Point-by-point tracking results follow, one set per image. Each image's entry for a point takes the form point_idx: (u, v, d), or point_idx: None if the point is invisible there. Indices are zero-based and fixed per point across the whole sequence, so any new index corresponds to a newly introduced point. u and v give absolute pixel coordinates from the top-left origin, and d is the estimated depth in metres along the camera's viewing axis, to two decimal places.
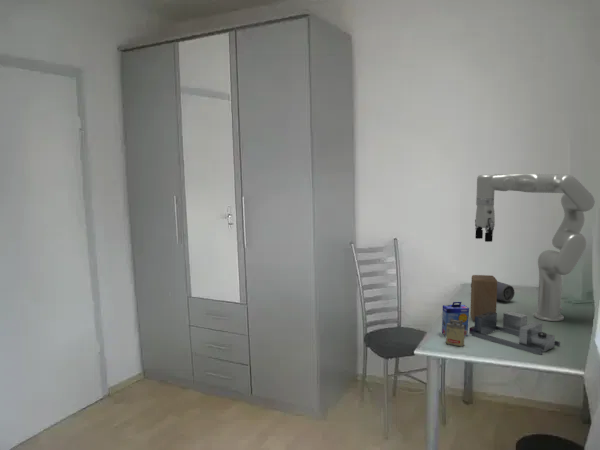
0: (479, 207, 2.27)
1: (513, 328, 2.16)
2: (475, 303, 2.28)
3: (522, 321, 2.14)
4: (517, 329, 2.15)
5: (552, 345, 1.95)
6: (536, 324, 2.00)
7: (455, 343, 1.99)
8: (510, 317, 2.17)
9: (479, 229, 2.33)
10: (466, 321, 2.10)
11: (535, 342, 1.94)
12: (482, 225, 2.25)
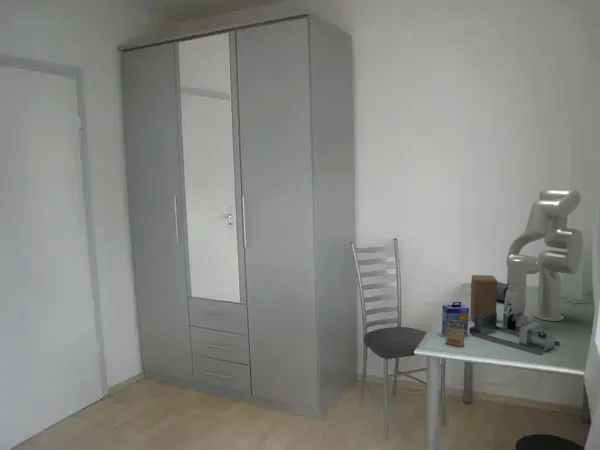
0: (521, 292, 2.14)
1: None
2: (475, 303, 2.28)
3: (522, 321, 2.14)
4: (517, 329, 2.15)
5: (552, 345, 1.95)
6: (536, 324, 2.00)
7: (455, 343, 1.99)
8: None
9: None
10: (466, 321, 2.10)
11: (535, 342, 1.94)
12: (523, 309, 2.17)
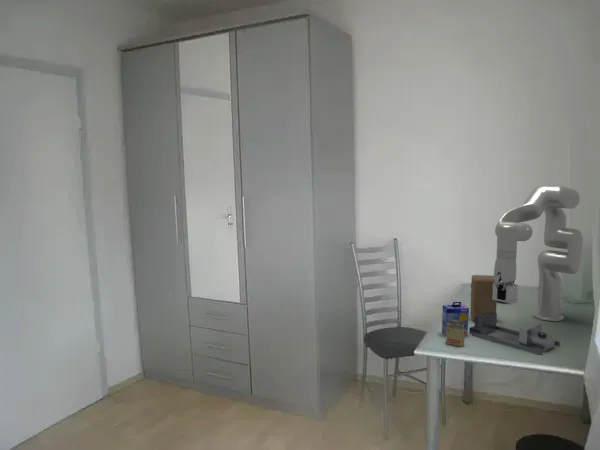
0: (512, 261, 2.03)
1: None
2: (475, 303, 2.28)
3: (513, 290, 2.03)
4: (507, 299, 2.03)
5: (552, 345, 1.95)
6: (536, 324, 2.00)
7: (455, 343, 1.99)
8: None
9: None
10: (466, 321, 2.10)
11: (535, 342, 1.94)
12: (513, 279, 2.06)
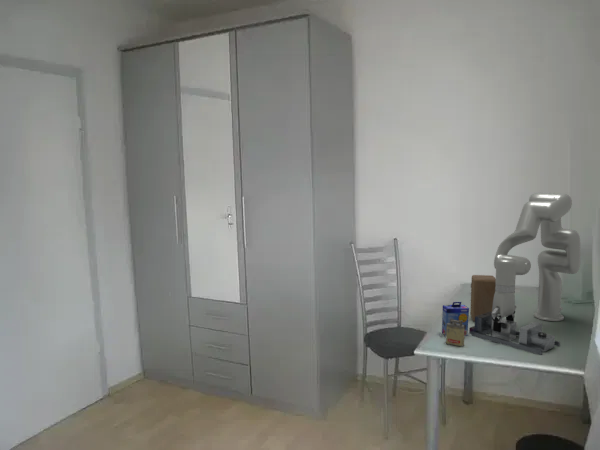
0: (510, 295, 2.05)
1: (502, 335, 2.07)
2: (475, 303, 2.28)
3: (511, 328, 2.05)
4: (505, 337, 2.05)
5: (552, 345, 1.95)
6: (536, 324, 2.00)
7: (455, 343, 1.99)
8: None
9: None
10: (466, 321, 2.10)
11: (535, 342, 1.94)
12: (512, 312, 2.08)
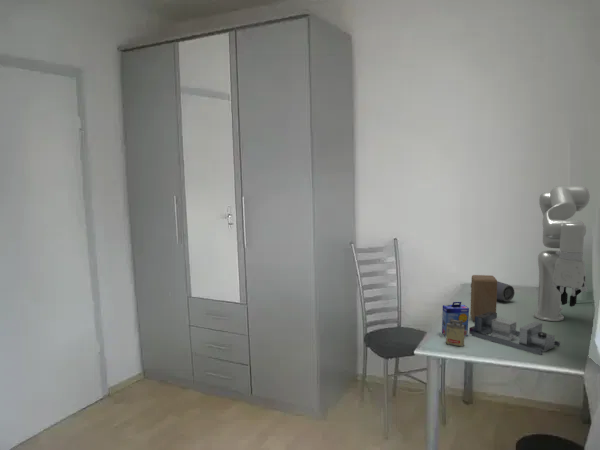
0: None
1: (502, 335, 2.07)
2: (475, 303, 2.28)
3: (511, 328, 2.05)
4: (505, 337, 2.05)
5: (552, 345, 1.95)
6: (536, 324, 2.00)
7: (455, 343, 1.99)
8: (498, 324, 2.07)
9: None
10: (466, 321, 2.10)
11: (535, 342, 1.94)
12: None
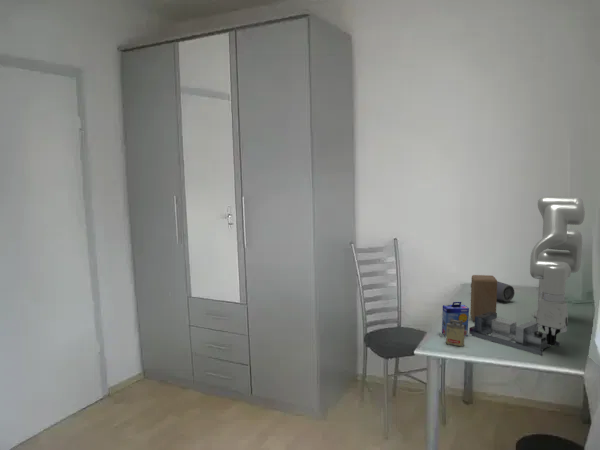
0: None
1: (502, 335, 2.07)
2: (475, 303, 2.28)
3: (511, 328, 2.05)
4: (505, 337, 2.05)
5: None
6: (532, 323, 2.01)
7: (455, 343, 1.99)
8: (498, 324, 2.07)
9: None
10: (466, 321, 2.10)
11: (532, 341, 1.95)
12: None
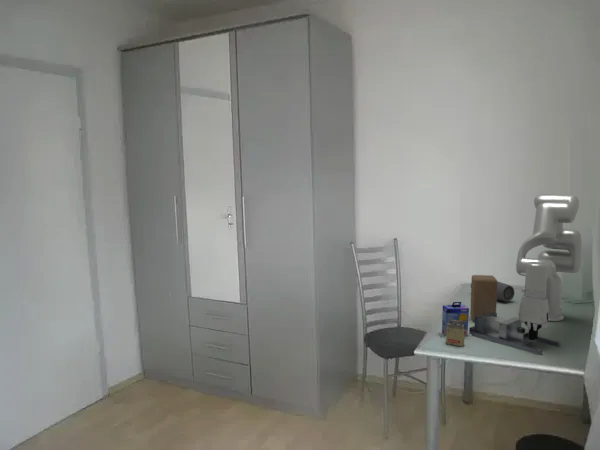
0: None
1: (496, 334, 2.08)
2: (475, 303, 2.28)
3: None
4: None
5: None
6: (515, 319, 2.07)
7: (455, 343, 1.99)
8: (493, 322, 2.09)
9: (534, 327, 1.98)
10: (466, 321, 2.10)
11: (514, 337, 2.00)
12: None
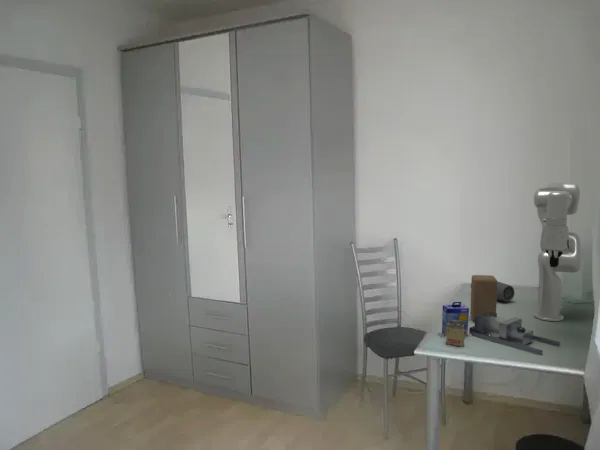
0: None
1: (496, 334, 2.08)
2: (475, 303, 2.28)
3: None
4: None
5: (531, 339, 2.02)
6: (516, 319, 2.07)
7: (455, 343, 1.99)
8: (493, 322, 2.09)
9: (555, 254, 2.07)
10: (466, 321, 2.10)
11: (514, 337, 2.00)
12: None
